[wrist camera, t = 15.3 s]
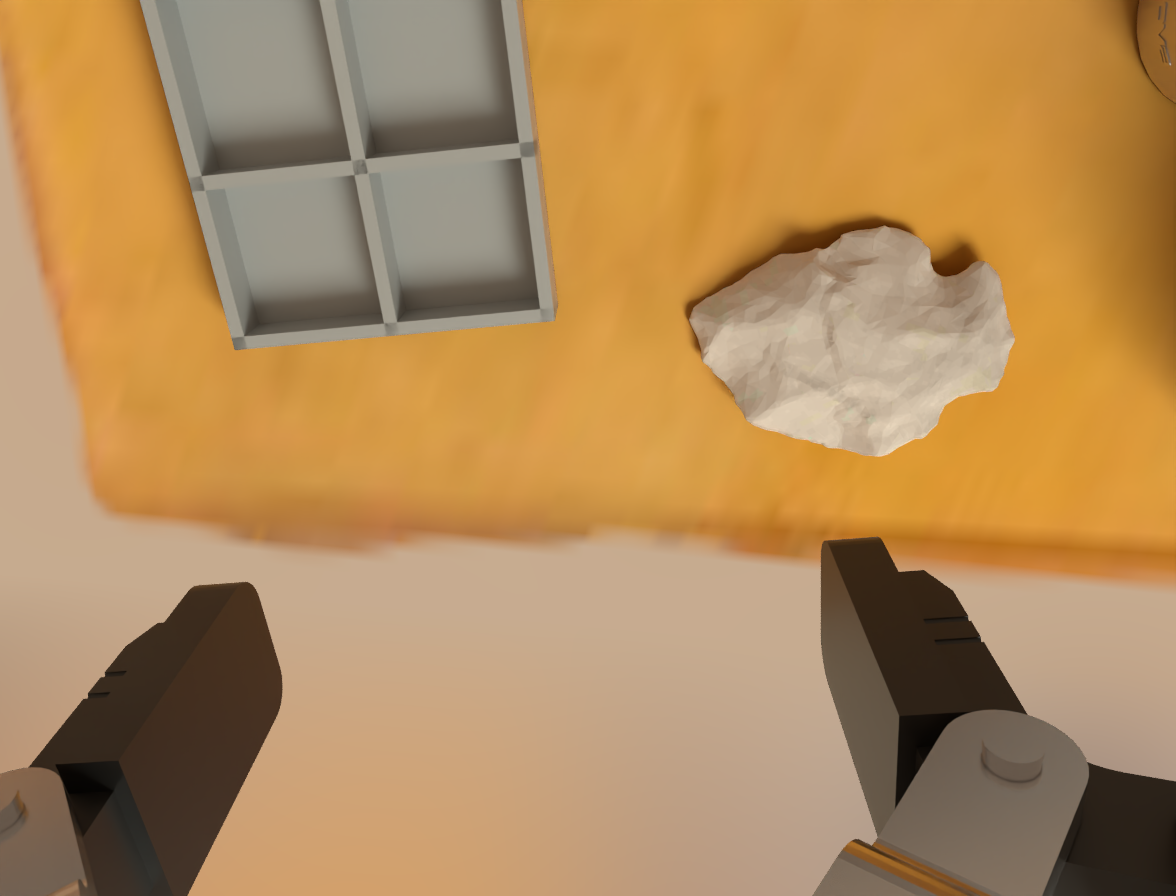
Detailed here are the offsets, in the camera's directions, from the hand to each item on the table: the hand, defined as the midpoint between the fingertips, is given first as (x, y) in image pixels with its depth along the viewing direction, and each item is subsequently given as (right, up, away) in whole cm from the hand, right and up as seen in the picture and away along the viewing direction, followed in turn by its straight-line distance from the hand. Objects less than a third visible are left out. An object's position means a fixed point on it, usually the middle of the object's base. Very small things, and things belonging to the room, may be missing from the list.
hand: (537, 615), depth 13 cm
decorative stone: (+13, +8, +32) cm, 35 cm away
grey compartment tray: (-9, +19, +27) cm, 34 cm away
